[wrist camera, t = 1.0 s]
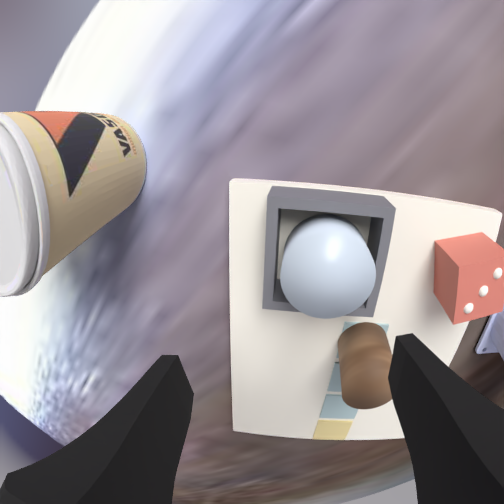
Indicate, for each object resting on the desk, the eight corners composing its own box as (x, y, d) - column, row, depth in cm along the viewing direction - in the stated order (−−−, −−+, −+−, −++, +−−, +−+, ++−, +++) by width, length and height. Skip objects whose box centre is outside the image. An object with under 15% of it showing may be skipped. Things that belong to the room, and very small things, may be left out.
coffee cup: (180, 136, 19) (50, 164, 8) (130, 245, 23) (27, 335, 12) (84, 86, 18) (-49, 91, 7) (49, 189, 22) (-60, 241, 11)
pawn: (392, 323, 21) (408, 370, 16) (379, 361, 22) (389, 409, 18) (342, 320, 21) (349, 369, 17) (333, 359, 23) (336, 408, 18)
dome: (371, 218, 16) (384, 237, 14) (358, 293, 18) (365, 321, 16) (286, 210, 17) (283, 228, 14) (281, 286, 19) (277, 314, 16)
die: (482, 232, 17) (513, 257, 13) (478, 282, 18) (504, 313, 15) (434, 240, 18) (461, 269, 14) (433, 292, 19) (454, 327, 15)
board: (494, 208, 17) (523, 227, 14) (404, 429, 27) (409, 457, 24) (233, 178, 20) (217, 191, 16) (235, 422, 30) (227, 451, 26)
